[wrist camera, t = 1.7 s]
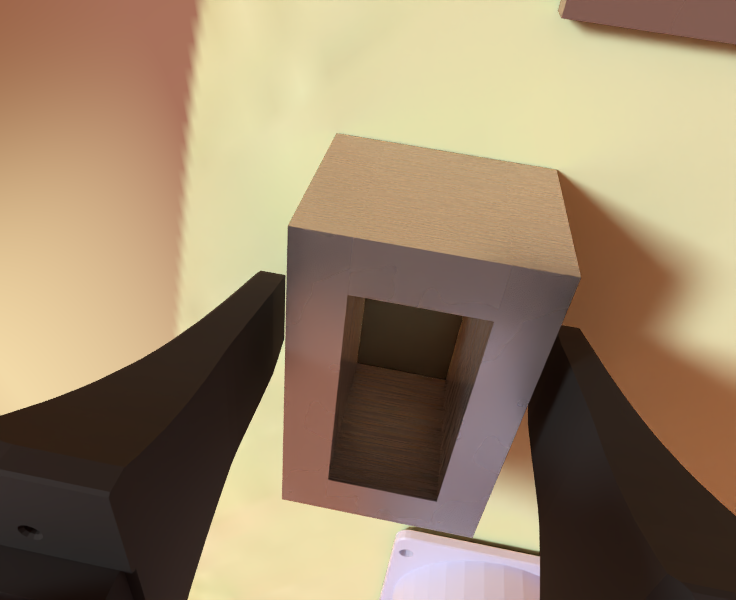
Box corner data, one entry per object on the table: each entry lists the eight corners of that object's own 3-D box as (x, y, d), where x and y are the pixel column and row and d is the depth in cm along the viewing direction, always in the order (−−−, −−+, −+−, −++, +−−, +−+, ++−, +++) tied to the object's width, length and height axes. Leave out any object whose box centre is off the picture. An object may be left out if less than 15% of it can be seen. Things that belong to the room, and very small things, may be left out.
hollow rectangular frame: (474, 414, 17) (472, 538, 14) (317, 384, 18) (282, 499, 14) (556, 169, 12) (581, 277, 9) (336, 133, 13) (287, 225, 9)
